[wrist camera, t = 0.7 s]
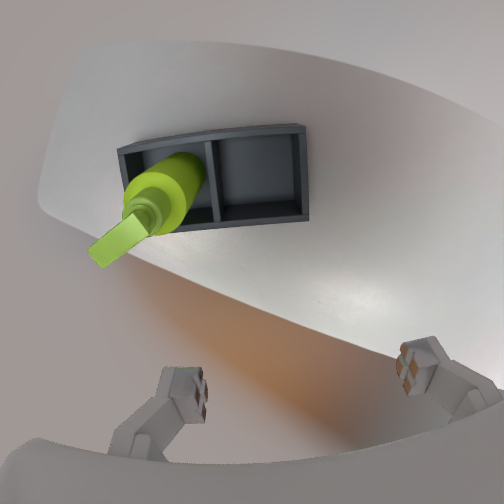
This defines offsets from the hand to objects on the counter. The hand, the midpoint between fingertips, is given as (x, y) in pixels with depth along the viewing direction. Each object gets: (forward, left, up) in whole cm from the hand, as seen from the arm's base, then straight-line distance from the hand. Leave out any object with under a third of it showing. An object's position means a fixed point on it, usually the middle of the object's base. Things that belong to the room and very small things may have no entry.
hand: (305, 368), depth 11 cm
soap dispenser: (-2, -11, -30) cm, 32 cm away
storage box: (-2, -6, -31) cm, 31 cm away
